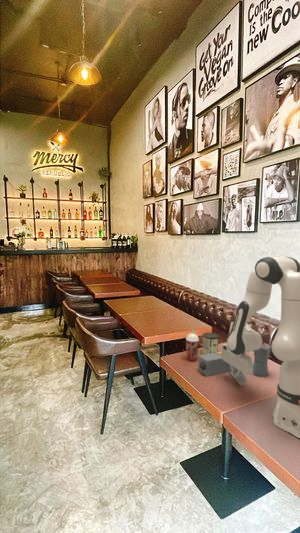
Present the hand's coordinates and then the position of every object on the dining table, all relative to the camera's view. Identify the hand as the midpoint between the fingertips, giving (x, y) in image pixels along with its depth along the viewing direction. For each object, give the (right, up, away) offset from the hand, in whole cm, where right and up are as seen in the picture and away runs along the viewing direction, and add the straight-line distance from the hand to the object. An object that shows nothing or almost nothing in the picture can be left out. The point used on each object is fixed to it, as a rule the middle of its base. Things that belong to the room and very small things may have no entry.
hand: (235, 375), depth 146 cm
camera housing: (-8, -4, +15) cm, 18 cm away
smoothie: (-19, -2, +30) cm, 36 cm away
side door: (+2, -4, +4) cm, 6 cm away
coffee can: (-6, -2, +37) cm, 38 cm away
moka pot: (+18, -5, +14) cm, 23 cm away
